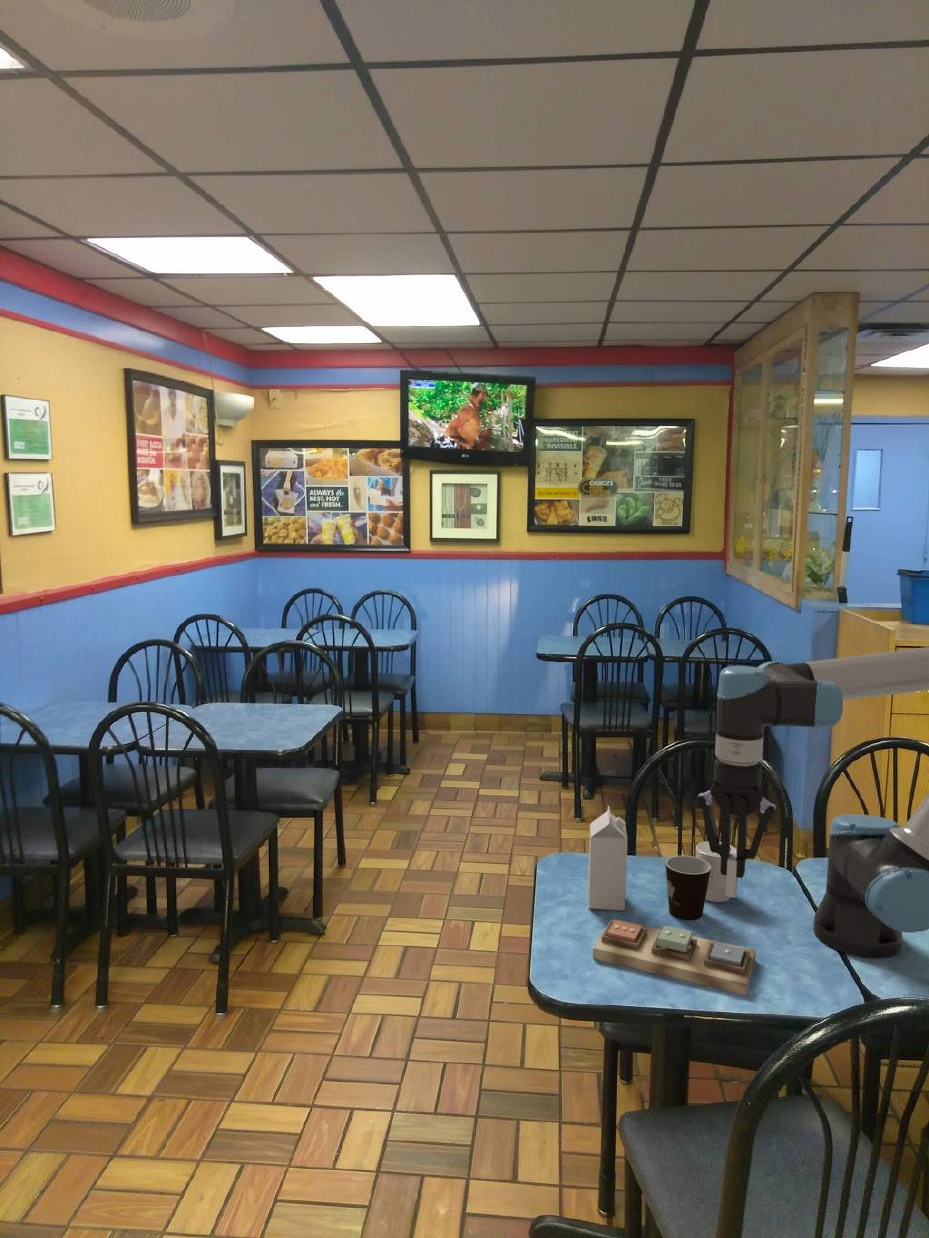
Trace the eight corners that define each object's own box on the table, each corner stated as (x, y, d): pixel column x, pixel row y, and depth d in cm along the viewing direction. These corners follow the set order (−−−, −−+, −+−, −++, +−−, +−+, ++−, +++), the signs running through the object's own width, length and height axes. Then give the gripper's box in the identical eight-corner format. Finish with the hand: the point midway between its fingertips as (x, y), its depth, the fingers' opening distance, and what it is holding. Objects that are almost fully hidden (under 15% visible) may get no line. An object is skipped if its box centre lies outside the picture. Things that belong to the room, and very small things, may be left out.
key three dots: (641, 933, 160) (641, 925, 160) (634, 946, 156) (634, 937, 155) (614, 927, 162) (614, 919, 162) (607, 940, 158) (607, 931, 158)
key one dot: (744, 956, 153) (744, 947, 152) (739, 970, 148) (740, 961, 148) (714, 950, 155) (715, 941, 154) (709, 963, 150) (710, 954, 150)
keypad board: (755, 960, 155) (756, 944, 155) (745, 995, 145) (746, 978, 144) (611, 928, 166) (612, 913, 166) (592, 958, 156) (593, 942, 155)
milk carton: (588, 909, 174) (591, 817, 171) (587, 893, 181) (590, 804, 178) (625, 911, 173) (628, 819, 170) (622, 895, 180) (626, 806, 177)
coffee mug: (709, 925, 168) (712, 876, 166) (663, 920, 169) (665, 871, 168) (705, 898, 179) (708, 851, 178) (662, 894, 181) (664, 847, 179)
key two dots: (691, 939, 156) (692, 930, 156) (686, 952, 152) (686, 943, 151) (663, 933, 158) (664, 924, 158) (657, 945, 154) (657, 936, 154)
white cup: (706, 905, 176) (708, 858, 174) (687, 888, 183) (689, 842, 182) (741, 901, 178) (744, 854, 176) (721, 884, 185) (723, 839, 184)
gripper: (694, 760, 146) (688, 895, 149) (777, 771, 140) (769, 910, 144) (702, 748, 152) (696, 877, 156) (781, 758, 147) (774, 892, 150)
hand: (731, 893), depth 150 cm, fingers closed
